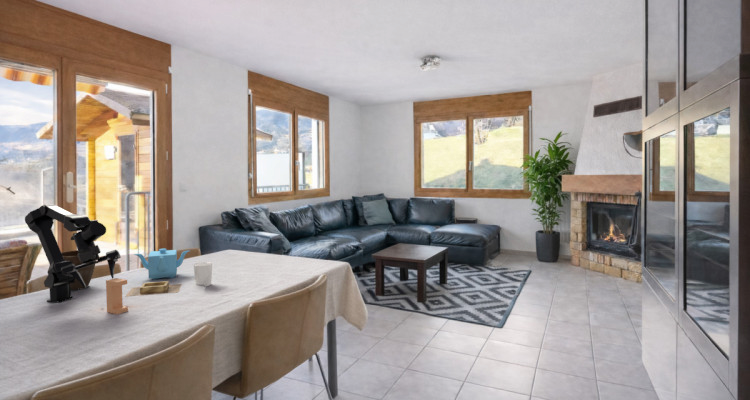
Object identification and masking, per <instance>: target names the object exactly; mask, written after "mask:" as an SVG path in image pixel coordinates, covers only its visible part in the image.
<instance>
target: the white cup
mask: <svg viewBox="0 0 750 400" xmlns="http://www.w3.org/2000/svg"><path fill="white" fill-rule="evenodd" d="M193 271H194V280H195V281H194V282H195V285H198V286H203V287H204V288H205V287H209V286H211V285H212V278H213V277H212V274H213V263H212V262H211V261H210V262H209V261H206V262H205V261H204V262H202V261H201V262H197V263H194V264H193Z"/></svg>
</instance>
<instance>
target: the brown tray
mask: <svg viewBox="0 0 750 400" xmlns="http://www.w3.org/2000/svg"><path fill="white" fill-rule="evenodd" d="M182 285H183V284H182V283H175V284H170V281H169V280H165V281H152V282H143V283H142V284H141V286H137V287H135V286H134V287H132V288H131V289H130V290H128V293H127V294H125V298H126V297H136V296H139V297H140V296H149V295H151V296H152V295H162V294H175V293H179V291H180V289H181V287H182Z"/></svg>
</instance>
